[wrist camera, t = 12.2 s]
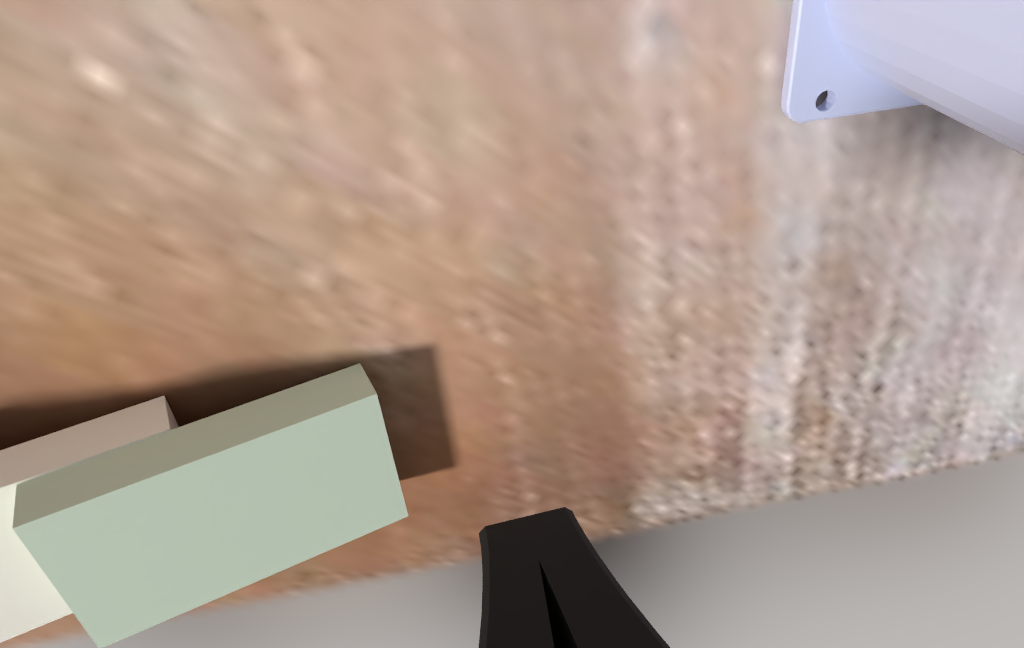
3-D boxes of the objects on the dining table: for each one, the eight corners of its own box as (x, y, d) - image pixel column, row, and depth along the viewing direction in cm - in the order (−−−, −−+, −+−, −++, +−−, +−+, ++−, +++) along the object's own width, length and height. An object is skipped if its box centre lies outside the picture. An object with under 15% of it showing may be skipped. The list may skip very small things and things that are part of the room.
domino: (169, 428, 20) (-242, 572, 17) (227, 549, 23) (-117, 690, 20) (164, 395, 21) (-221, 524, 18) (219, 514, 24) (-106, 641, 21)
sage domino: (376, 393, 20) (12, 528, 17) (408, 515, 23) (99, 649, 20) (360, 363, 22) (16, 484, 19) (391, 482, 24) (98, 604, 22)
